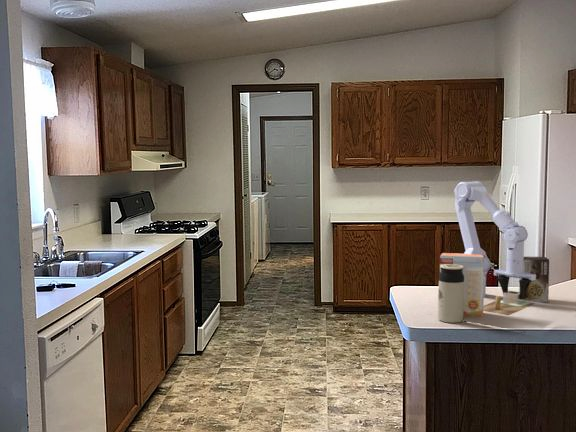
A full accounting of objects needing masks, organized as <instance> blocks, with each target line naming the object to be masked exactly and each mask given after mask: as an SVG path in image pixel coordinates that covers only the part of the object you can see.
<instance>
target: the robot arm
mask: <svg viewBox="0 0 576 432" xmlns="http://www.w3.org/2000/svg"><path fill="white" fill-rule="evenodd" d="M453 192H454V197H455V200H454V208H455V211H456V216H457V217H456V218H457V221H458V225H459V229H460V233H461V237H462V241H463V245H464V250H465V251H464V252H463V254H477V255H484V297H486V294H487V293H486V292H487V289H486V287H487V274H488V272H489V271H490V268H491V261H490V258H488V256H487V253H486V251H485V250H484V249H483V248H481V245H480V240H479V238H478V233H477V229H476V225H475V220H474V217H473V213H472V206H473V204H474V203H475V202H479V203H480V205H482V206H483V207H484V209H486V210H487V212H488V213H490V215H491V216H492V222H493V223H494V224H495V225H496V226H497V227H498V228H499V230H500V231H501V232H502V233H503V240H504V241H505V243H506V244H505V245H506V259H505V260H506V266H505V267H506V268H505V270H504V269H494V270H493V276H496V277H497V281H498V283H499V285H500V288H501V291H502V294H503V293H504V292H507V291H509V284H510V283H509V281H510V278H513V279H514V278H515V279H519V280H518V282H519V284H520V299H524V297H525V293H526V290H527V288H528V286H529V284H530V283H531V280H532V281H534V280H536V275H535V274H530V273H525V272H523V260H524V257H525V255H524V253H525V241H526V240H527V238H528V237H529V236H528V235H529V234H528V231H527V229H526V227H524V226H523V225H520V224H519V223H518V222H517V221H516V220H514V219H513V217H512V216H511V213H510V212H509V211H506V210H503V209H502V210H501V209H500V207H499V206H498V204H497V203H496V202H495V201H494V199H493V198H492V196H491V195H490V194H489V193H488V192H487V188H486V187H485V186H484V185H483V183H482V182H480V181H477V180H476V181H461V182H459V183H458V184H456V187H455V188H454V190H453ZM520 279H522V280H520ZM519 284H518V285H519Z"/></svg>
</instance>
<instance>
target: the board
mask: <svg viewBox="0 0 576 432" xmlns="http://www.w3.org/2000/svg"><path fill="white" fill-rule="evenodd" d="M533 305H535V302H534V303H533V302H532V301H526V300H523V303H520V304H518V305H516V304H510V303H504V302H503V298H501V296H500V295H495V300H494V301H492V302H490V303H486V304H483V312H486V313H487V312H488V313H492V314H499V315H505V316H510V315H513V314H515V313H517V312H519V311H521V310H524V309H526V308H529V307H530V306H533Z"/></svg>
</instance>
